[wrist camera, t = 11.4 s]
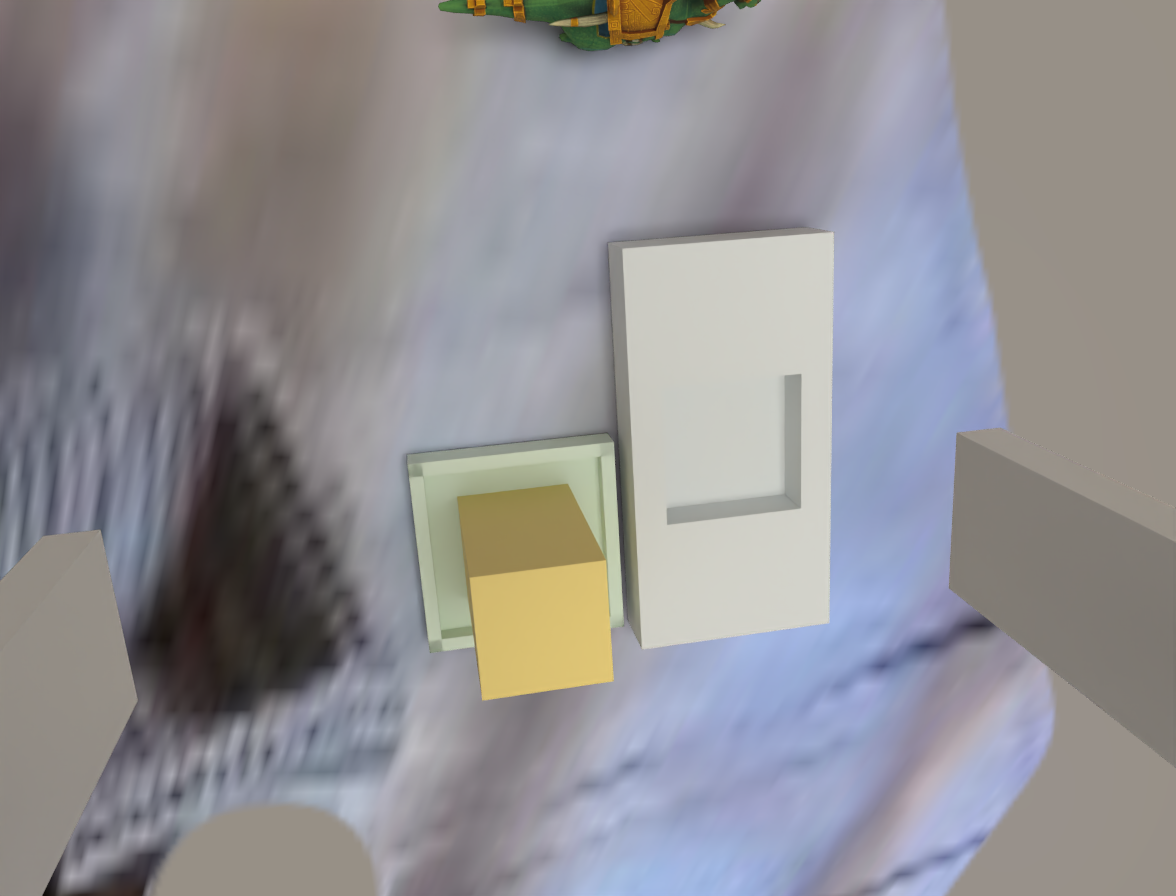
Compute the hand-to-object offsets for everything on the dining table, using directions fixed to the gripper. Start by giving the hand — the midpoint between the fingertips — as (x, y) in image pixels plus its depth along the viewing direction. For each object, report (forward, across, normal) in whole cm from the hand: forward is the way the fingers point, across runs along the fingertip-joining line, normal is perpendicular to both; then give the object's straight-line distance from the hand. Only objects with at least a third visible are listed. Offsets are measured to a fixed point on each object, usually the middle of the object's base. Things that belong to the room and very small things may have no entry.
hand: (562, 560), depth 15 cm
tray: (+29, +2, -11) cm, 31 cm away
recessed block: (+29, +11, -7) cm, 32 cm away
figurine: (+29, +6, +11) cm, 31 cm away
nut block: (+28, +2, -11) cm, 30 cm away
